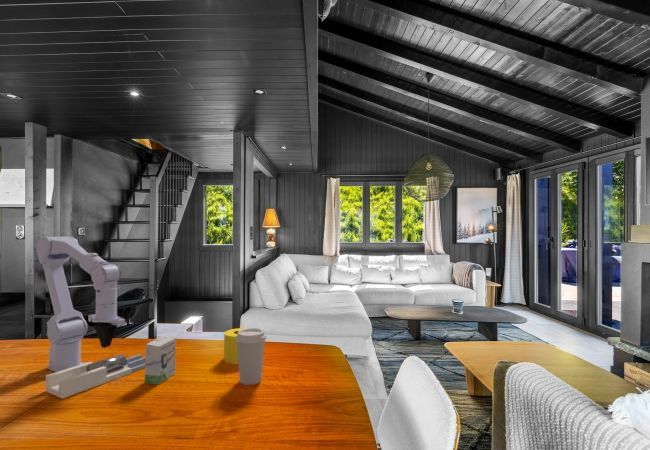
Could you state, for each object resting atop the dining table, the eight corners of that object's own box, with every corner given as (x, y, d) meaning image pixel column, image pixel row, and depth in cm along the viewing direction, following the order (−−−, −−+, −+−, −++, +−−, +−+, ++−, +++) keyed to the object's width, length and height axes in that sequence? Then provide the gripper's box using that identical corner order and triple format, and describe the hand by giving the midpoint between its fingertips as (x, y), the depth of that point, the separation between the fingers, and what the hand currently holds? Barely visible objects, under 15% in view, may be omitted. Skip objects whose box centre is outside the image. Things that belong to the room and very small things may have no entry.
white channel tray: (45, 391, 103) (45, 375, 103) (115, 367, 121) (115, 354, 121) (62, 398, 99) (62, 382, 99) (131, 373, 117) (131, 359, 117)
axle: (92, 379, 109) (94, 367, 108) (86, 374, 111) (87, 362, 110) (125, 368, 117) (127, 356, 117) (118, 363, 119) (120, 352, 119)
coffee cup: (272, 377, 114) (272, 329, 114) (254, 389, 105) (254, 338, 105) (247, 371, 118) (247, 326, 118) (228, 383, 109) (228, 333, 110)
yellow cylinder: (258, 357, 132) (258, 331, 132) (238, 366, 123) (238, 338, 123) (238, 351, 137) (239, 326, 137) (218, 359, 129) (218, 333, 129)
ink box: (162, 372, 117) (162, 335, 117) (176, 373, 116) (176, 337, 116) (143, 383, 109) (144, 344, 109) (159, 385, 108) (159, 345, 108)
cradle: (117, 367, 121) (117, 359, 121) (137, 360, 127) (137, 353, 127) (132, 372, 117) (132, 364, 117) (151, 364, 123) (152, 357, 123)
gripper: (78, 303, 113) (78, 346, 113) (109, 308, 107) (109, 354, 107) (100, 299, 120) (100, 340, 120) (131, 303, 114) (130, 346, 114)
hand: (106, 346), depth 114 cm, fingers closed
